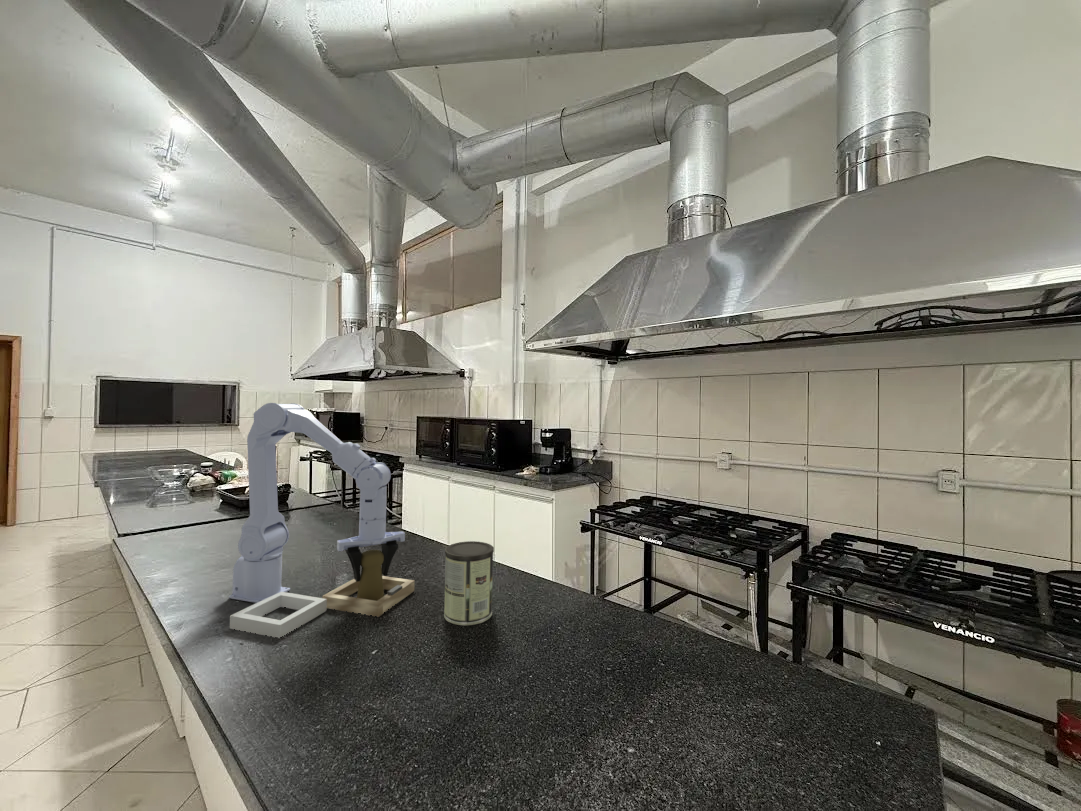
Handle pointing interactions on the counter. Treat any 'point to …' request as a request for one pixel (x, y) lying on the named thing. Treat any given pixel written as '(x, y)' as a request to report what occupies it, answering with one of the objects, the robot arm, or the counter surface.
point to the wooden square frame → (369, 607)
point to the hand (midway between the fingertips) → (371, 577)
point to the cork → (371, 576)
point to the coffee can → (468, 582)
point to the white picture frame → (255, 623)
